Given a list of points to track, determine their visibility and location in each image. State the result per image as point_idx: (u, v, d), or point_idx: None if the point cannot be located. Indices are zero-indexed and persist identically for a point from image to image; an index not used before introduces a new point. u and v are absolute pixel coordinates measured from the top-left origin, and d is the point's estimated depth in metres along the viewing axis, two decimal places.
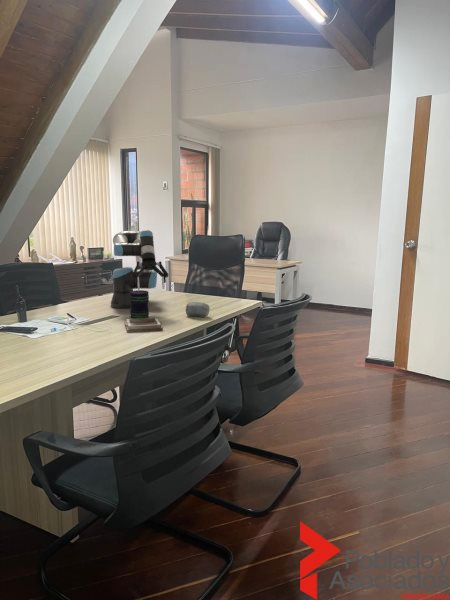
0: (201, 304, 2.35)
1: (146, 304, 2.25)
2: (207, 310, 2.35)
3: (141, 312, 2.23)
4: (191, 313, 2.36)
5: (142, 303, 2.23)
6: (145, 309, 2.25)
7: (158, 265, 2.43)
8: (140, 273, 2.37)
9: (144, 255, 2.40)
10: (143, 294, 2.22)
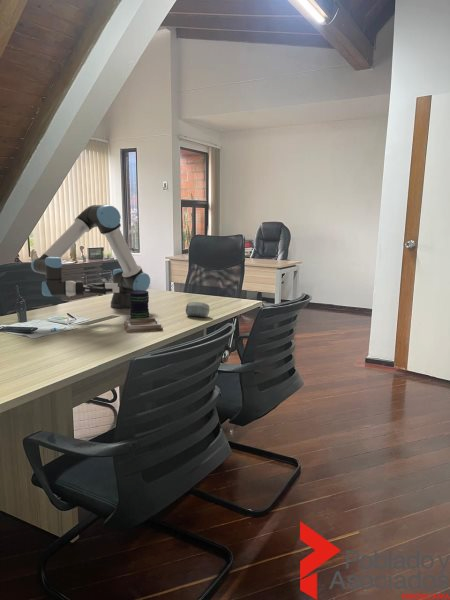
0: (201, 304, 2.35)
1: (146, 304, 2.25)
2: (207, 310, 2.35)
3: (141, 312, 2.23)
4: (191, 313, 2.36)
5: (142, 303, 2.23)
6: (145, 309, 2.25)
7: None
8: (99, 287, 2.25)
9: None
10: (143, 294, 2.22)
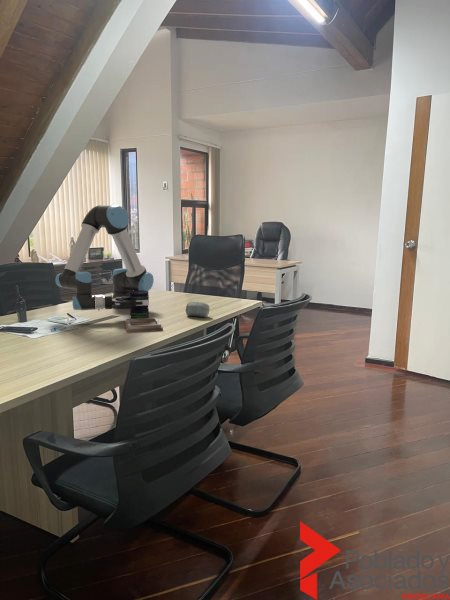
0: (201, 304, 2.35)
1: None
2: (207, 310, 2.35)
3: (141, 312, 2.23)
4: (191, 313, 2.36)
5: None
6: (145, 309, 2.25)
7: None
8: (128, 300, 2.29)
9: None
10: (143, 294, 2.22)
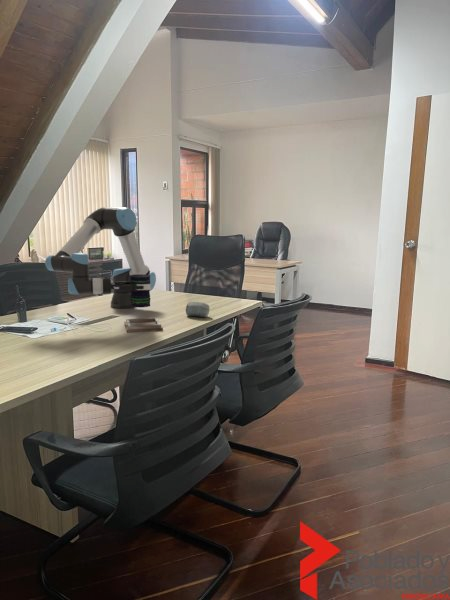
0: (201, 304, 2.35)
1: None
2: (207, 310, 2.35)
3: (142, 297, 2.07)
4: (191, 313, 2.36)
5: None
6: (146, 294, 2.08)
7: None
8: None
9: None
10: (144, 278, 2.06)
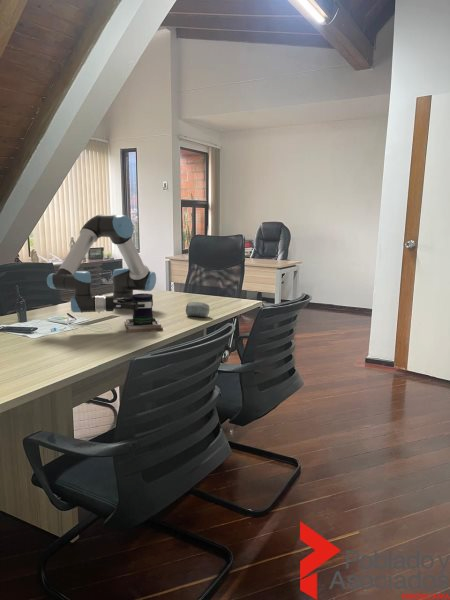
0: (201, 304, 2.35)
1: (150, 308, 2.09)
2: (207, 310, 2.35)
3: (145, 317, 2.07)
4: (191, 313, 2.36)
5: None
6: (149, 314, 2.09)
7: None
8: (129, 301, 2.14)
9: None
10: (147, 298, 2.06)
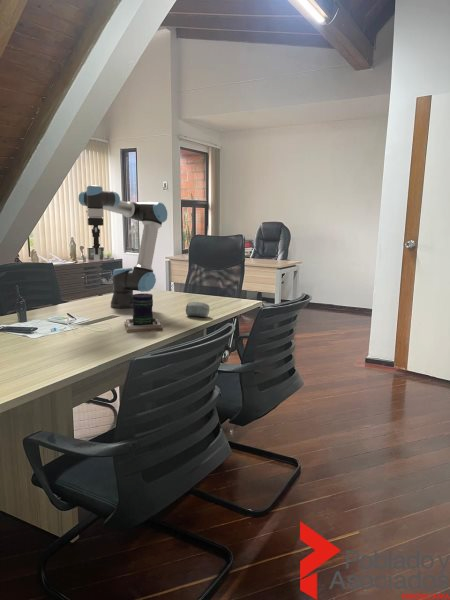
0: (201, 304, 2.35)
1: (150, 308, 2.09)
2: (207, 310, 2.35)
3: (145, 317, 2.07)
4: (191, 313, 2.36)
5: (146, 307, 2.07)
6: (149, 314, 2.09)
7: None
8: None
9: None
10: (147, 298, 2.06)
